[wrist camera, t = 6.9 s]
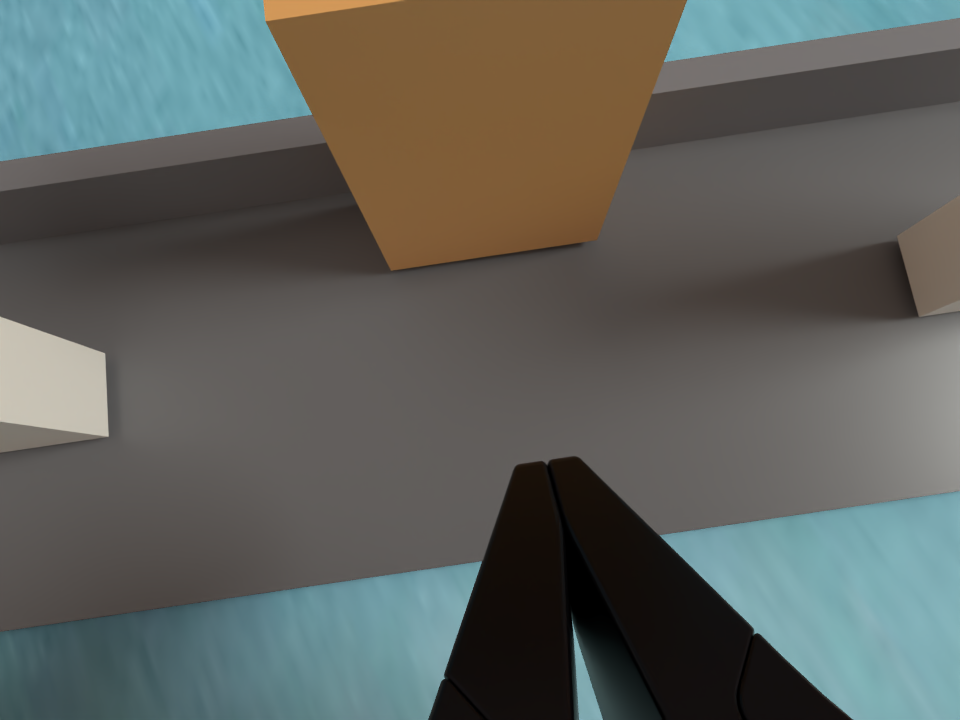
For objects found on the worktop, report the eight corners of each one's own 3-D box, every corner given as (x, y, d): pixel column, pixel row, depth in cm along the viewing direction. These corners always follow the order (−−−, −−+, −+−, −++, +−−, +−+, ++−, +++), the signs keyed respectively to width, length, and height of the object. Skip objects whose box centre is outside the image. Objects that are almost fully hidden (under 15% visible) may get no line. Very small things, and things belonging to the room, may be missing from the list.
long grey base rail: (1243, 445, 17) (1436, 432, 13) (-163, 652, 17) (-335, 692, 13) (1110, 70, 18) (1249, -26, 15) (-151, 259, 19) (-299, 206, 15)
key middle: (597, 240, 17) (704, -45, 8) (390, 270, 17) (264, 20, 8) (583, 163, 17) (669, -191, 8) (381, 193, 17) (251, -127, 8)
